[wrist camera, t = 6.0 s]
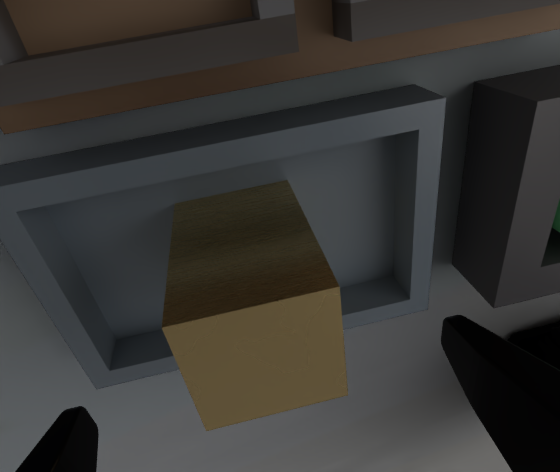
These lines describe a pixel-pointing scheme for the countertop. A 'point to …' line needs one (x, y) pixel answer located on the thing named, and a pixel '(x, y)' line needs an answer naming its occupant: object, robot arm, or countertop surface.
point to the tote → (216, 180)
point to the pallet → (219, 46)
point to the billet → (252, 306)
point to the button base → (511, 189)
